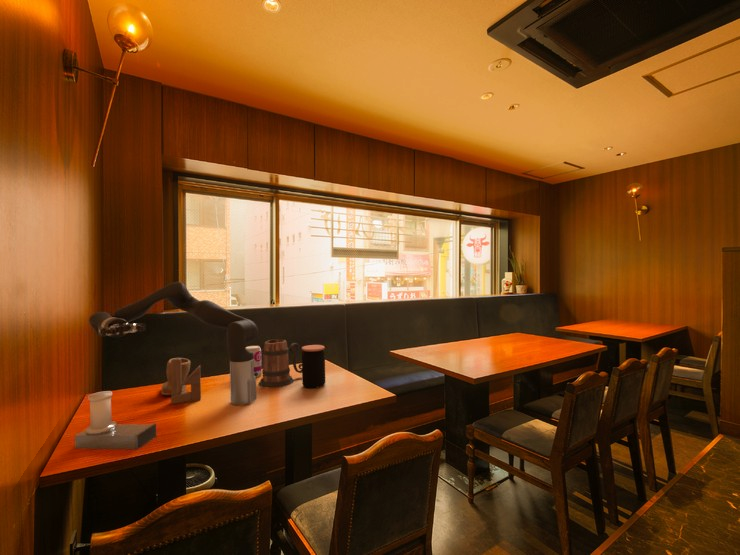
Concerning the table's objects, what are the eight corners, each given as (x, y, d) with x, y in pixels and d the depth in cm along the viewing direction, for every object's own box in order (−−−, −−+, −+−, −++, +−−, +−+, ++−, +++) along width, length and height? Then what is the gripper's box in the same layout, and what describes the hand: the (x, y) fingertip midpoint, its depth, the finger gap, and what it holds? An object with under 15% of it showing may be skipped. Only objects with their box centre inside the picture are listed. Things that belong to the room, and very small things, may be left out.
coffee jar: (330, 384, 166) (329, 346, 166) (314, 390, 157) (314, 350, 157) (312, 380, 172) (312, 343, 172) (297, 386, 163) (296, 348, 163)
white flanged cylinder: (117, 421, 114) (116, 391, 114) (102, 430, 108) (101, 397, 108) (100, 421, 114) (99, 391, 114) (83, 429, 108) (83, 397, 108)
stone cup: (191, 394, 155) (190, 360, 155) (159, 399, 150) (159, 363, 150) (191, 384, 169) (190, 353, 168) (162, 388, 163) (161, 356, 163)
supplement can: (265, 374, 184) (264, 346, 183) (253, 379, 176) (253, 349, 176) (253, 373, 187) (252, 345, 187) (241, 377, 179) (240, 348, 179)
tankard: (265, 390, 159) (264, 346, 158) (253, 381, 172) (252, 340, 172) (312, 380, 173) (311, 339, 173) (297, 372, 186) (296, 335, 186)
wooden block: (200, 400, 147) (199, 357, 147) (171, 404, 143) (170, 360, 142) (201, 397, 150) (200, 355, 150) (172, 401, 146) (171, 358, 146)
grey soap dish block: (156, 436, 114) (155, 420, 114) (137, 449, 106) (137, 432, 106) (97, 436, 115) (97, 420, 115) (74, 448, 107) (74, 431, 107)
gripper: (92, 319, 136) (105, 322, 126) (134, 315, 147) (150, 318, 137) (93, 339, 136) (106, 343, 126) (135, 333, 147) (150, 337, 137)
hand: (129, 330), depth 132 cm, fingers open, 8 cm apart
